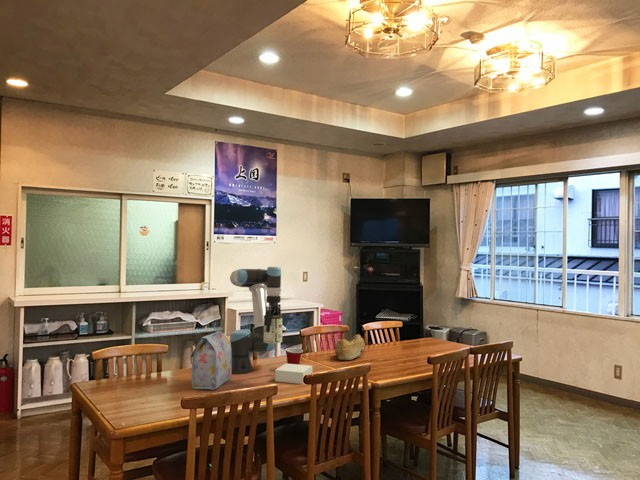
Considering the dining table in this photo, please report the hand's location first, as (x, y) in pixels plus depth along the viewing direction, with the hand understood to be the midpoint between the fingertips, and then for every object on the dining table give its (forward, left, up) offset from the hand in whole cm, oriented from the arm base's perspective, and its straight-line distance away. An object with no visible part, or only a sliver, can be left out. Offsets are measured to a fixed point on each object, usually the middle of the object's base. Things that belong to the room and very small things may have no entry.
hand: (272, 336), depth 261 cm
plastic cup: (+2, +27, -24) cm, 36 cm away
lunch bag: (-28, -17, -24) cm, 40 cm away
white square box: (+9, +8, -24) cm, 27 cm away
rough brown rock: (+24, +70, -24) cm, 78 cm away
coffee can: (0, 0, -3) cm, 3 cm away
